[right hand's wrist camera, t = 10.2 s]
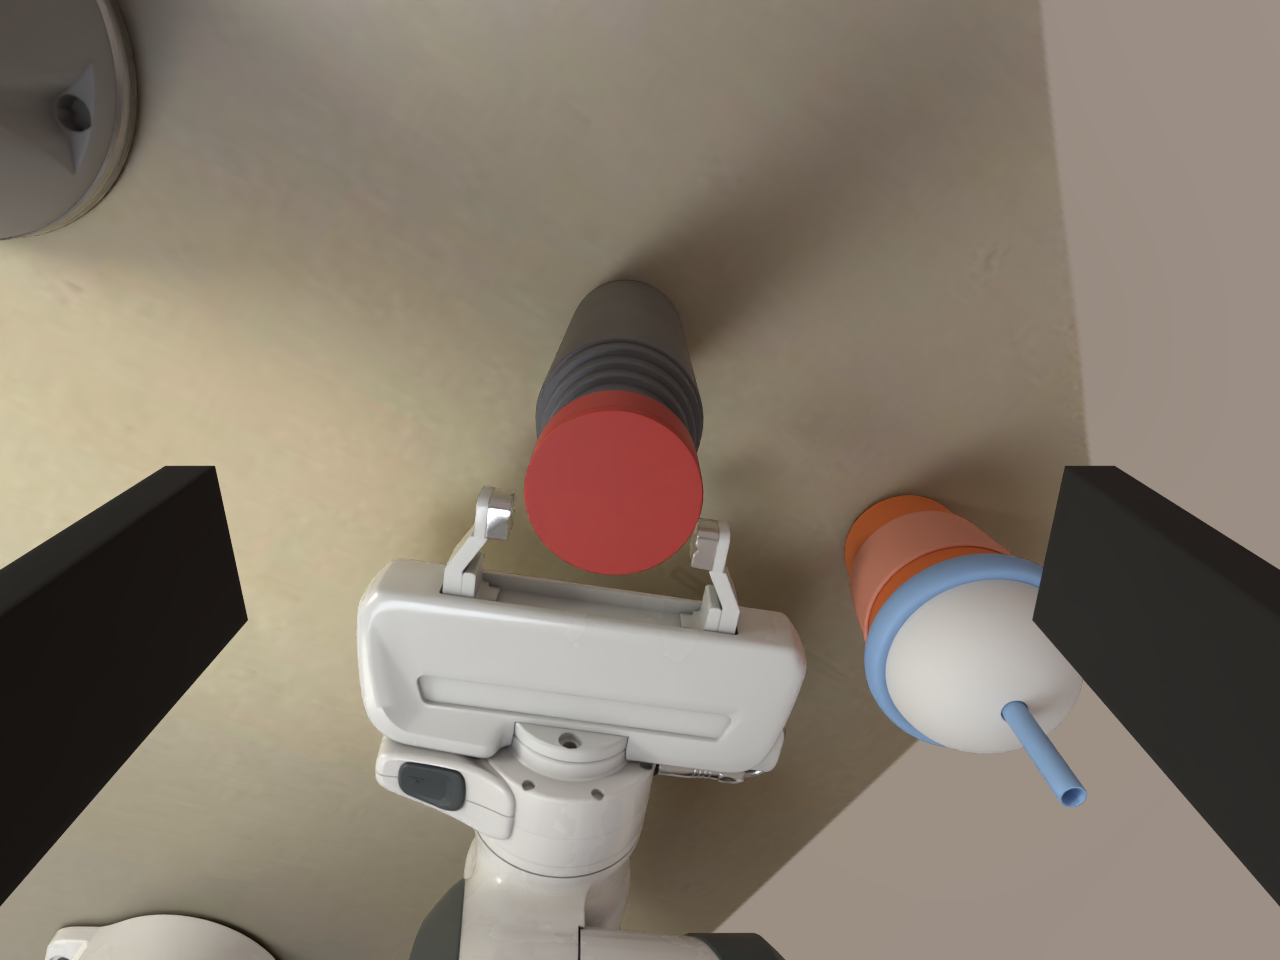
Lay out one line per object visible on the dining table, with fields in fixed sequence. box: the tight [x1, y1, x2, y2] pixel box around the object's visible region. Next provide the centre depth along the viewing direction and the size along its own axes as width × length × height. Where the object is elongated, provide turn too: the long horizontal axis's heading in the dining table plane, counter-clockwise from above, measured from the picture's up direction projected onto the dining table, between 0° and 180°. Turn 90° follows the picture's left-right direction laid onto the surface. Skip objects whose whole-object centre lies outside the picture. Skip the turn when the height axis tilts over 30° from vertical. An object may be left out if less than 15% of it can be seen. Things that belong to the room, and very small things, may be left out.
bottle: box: [536, 280, 703, 453], centre depth 29 cm, size 5×6×19 cm
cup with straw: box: [844, 495, 1087, 807], centre depth 34 cm, size 9×9×18 cm
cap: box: [524, 390, 703, 575], centre depth 21 cm, size 4×4×2 cm
